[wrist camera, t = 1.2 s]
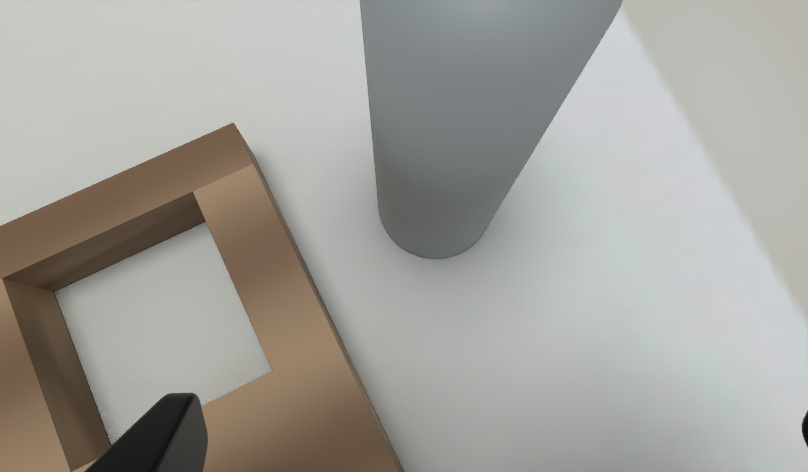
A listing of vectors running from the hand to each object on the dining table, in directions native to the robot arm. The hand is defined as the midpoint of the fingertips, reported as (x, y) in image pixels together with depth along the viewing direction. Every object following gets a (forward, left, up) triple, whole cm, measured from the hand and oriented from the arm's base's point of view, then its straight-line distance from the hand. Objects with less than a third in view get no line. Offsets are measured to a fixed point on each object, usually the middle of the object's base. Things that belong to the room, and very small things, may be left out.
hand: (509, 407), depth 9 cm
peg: (+6, -3, -13) cm, 15 cm away
